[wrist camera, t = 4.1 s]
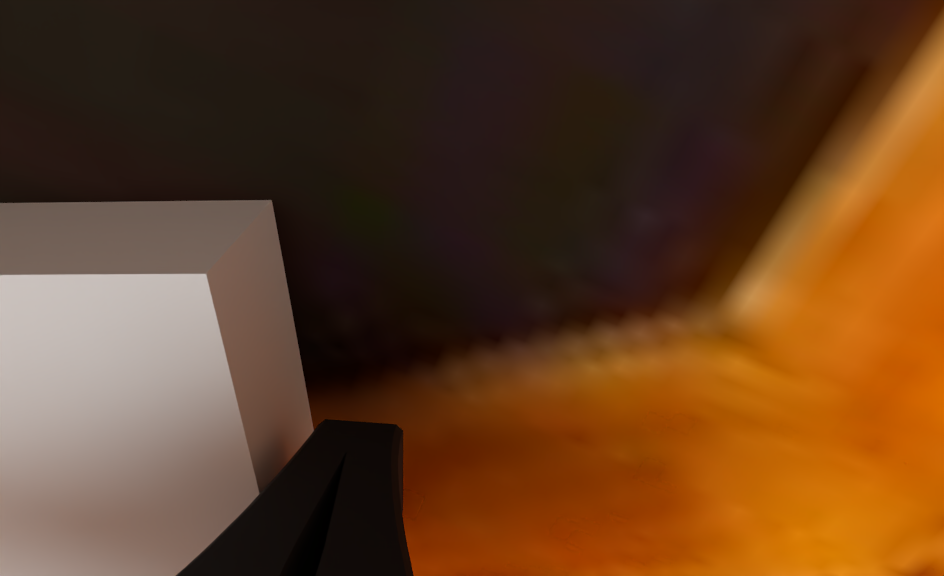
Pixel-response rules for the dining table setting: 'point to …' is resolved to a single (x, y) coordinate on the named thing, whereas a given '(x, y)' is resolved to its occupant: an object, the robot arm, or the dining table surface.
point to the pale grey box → (140, 381)
